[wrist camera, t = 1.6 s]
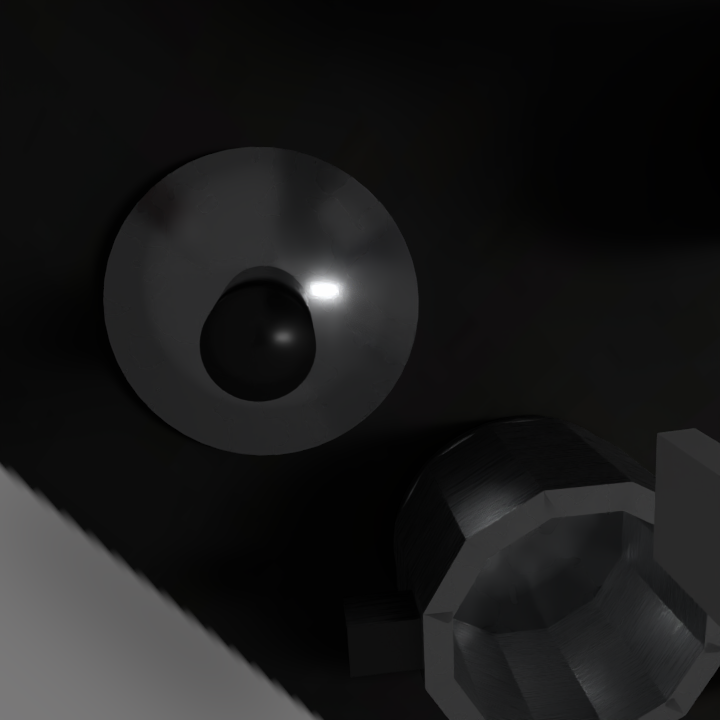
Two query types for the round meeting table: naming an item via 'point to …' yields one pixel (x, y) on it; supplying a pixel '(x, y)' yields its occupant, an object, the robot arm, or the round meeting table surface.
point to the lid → (260, 301)
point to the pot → (534, 585)
